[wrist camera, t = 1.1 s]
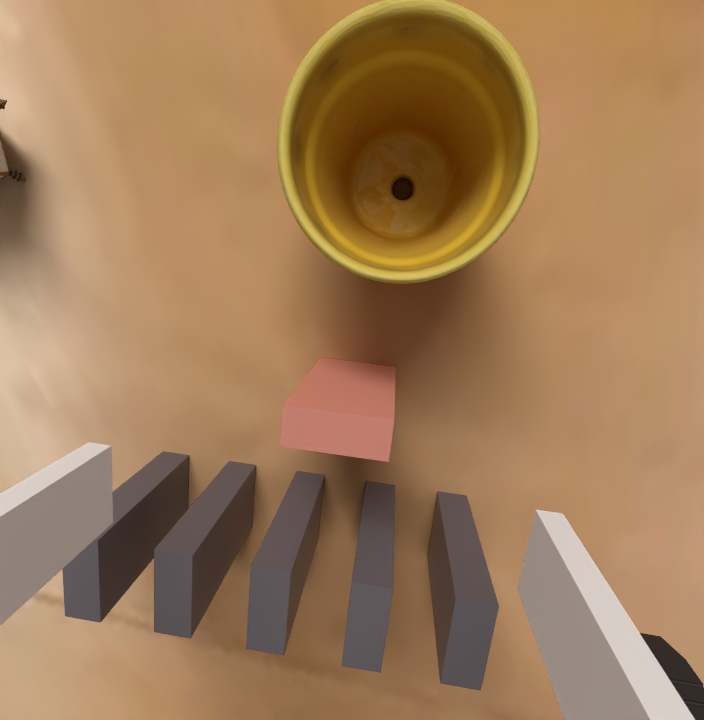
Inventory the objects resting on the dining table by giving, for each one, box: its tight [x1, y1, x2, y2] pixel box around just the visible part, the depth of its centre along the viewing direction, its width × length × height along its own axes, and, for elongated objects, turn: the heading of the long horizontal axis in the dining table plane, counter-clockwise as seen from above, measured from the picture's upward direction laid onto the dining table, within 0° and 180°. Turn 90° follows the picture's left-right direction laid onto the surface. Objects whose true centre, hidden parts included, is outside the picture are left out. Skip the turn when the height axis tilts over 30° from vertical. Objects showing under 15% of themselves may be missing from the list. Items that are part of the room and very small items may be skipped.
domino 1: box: [63, 452, 189, 622], centre depth 28 cm, size 2×5×10 cm, turn 174°
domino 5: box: [342, 481, 395, 673], centre depth 26 cm, size 2×5×10 cm, turn 174°
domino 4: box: [280, 358, 396, 462], centre depth 24 cm, size 2×5×10 cm, turn 84°
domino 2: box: [154, 461, 256, 638], centre depth 27 cm, size 2×5×10 cm, turn 173°
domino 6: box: [427, 492, 499, 690], centre depth 26 cm, size 2×5×10 cm, turn 173°
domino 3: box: [246, 471, 324, 655], centre depth 27 cm, size 2×5×10 cm, turn 174°
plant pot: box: [277, 0, 540, 284], centre depth 22 cm, size 10×10×10 cm
